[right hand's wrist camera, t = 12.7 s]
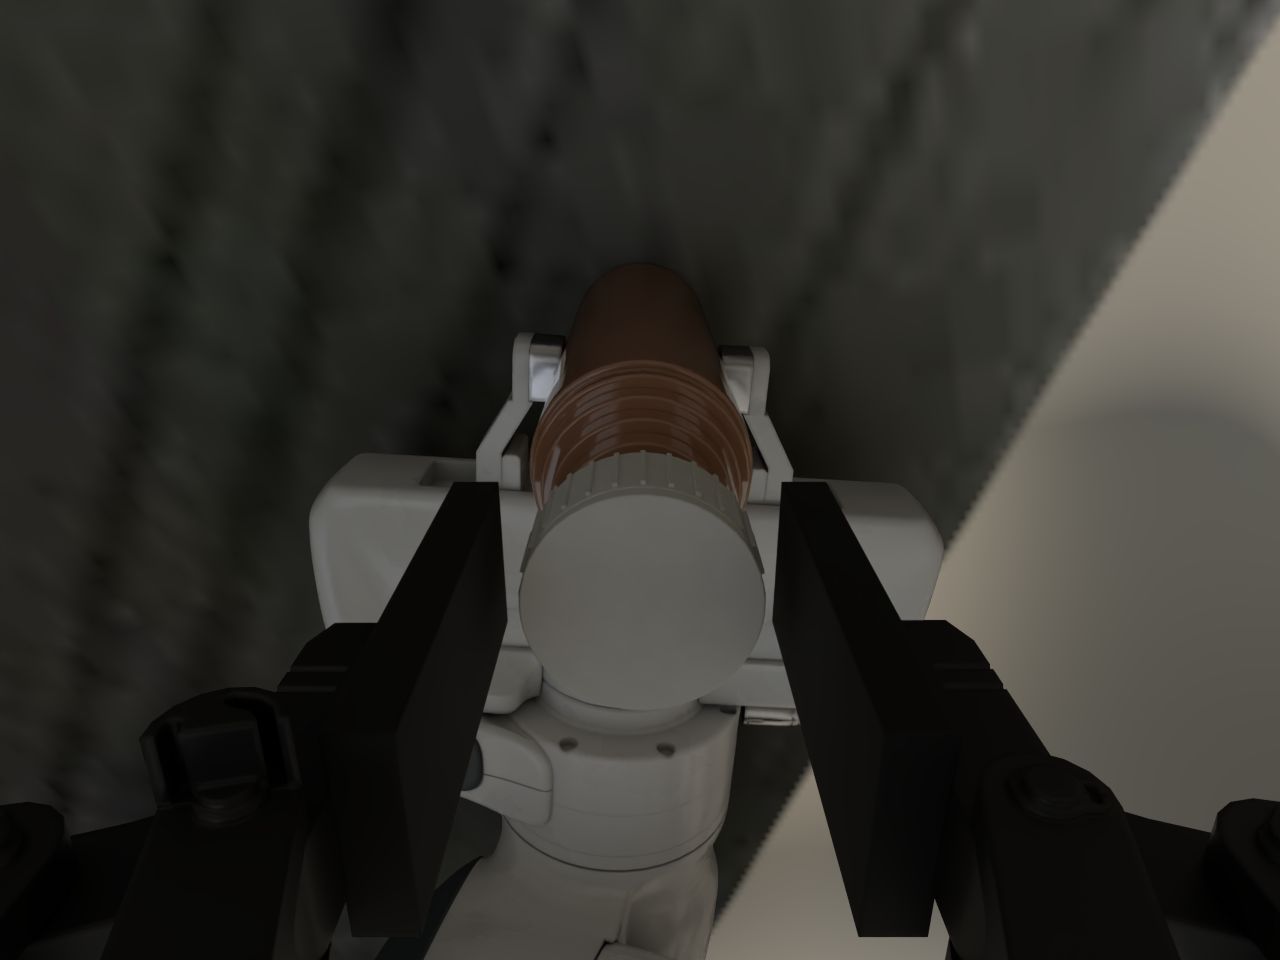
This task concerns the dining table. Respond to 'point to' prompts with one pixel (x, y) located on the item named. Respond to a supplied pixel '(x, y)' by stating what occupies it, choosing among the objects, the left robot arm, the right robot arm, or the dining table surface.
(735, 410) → the bottle
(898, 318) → the dining table surface
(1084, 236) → the dining table surface
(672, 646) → the cap
